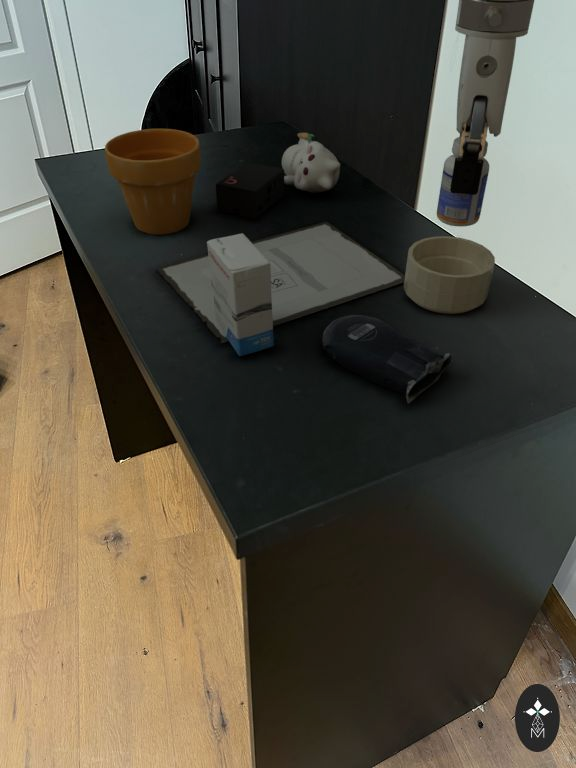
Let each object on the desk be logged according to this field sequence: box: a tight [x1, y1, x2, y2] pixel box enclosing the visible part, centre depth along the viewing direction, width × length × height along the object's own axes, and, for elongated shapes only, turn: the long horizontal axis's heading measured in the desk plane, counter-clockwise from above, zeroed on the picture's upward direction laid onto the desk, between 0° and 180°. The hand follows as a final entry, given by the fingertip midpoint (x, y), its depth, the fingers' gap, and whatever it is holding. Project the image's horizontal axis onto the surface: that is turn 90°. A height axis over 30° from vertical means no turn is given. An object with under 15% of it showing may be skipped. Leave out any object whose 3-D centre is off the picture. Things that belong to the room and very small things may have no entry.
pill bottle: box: [436, 136, 490, 227], centre depth 80 cm, size 5×5×10 cm
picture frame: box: [155, 221, 405, 344], centre depth 94 cm, size 22×1×30 cm
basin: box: [403, 235, 496, 315], centre depth 88 cm, size 11×11×6 cm
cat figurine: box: [281, 132, 341, 194], centre depth 116 cm, size 10×8×15 cm
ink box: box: [206, 232, 275, 357], centre depth 78 cm, size 9×5×12 cm, turn 25°
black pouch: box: [321, 314, 453, 405], centre depth 77 cm, size 9×6×15 cm
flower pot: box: [104, 128, 202, 236], centre depth 103 cm, size 14×14×13 cm
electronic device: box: [215, 161, 285, 220], centre depth 111 cm, size 7×11×5 cm
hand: (464, 181), depth 80 cm, fingers closed on pill bottle, 5 cm apart
